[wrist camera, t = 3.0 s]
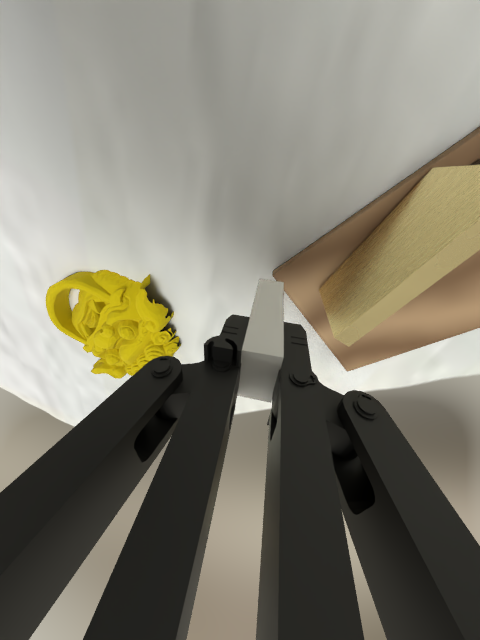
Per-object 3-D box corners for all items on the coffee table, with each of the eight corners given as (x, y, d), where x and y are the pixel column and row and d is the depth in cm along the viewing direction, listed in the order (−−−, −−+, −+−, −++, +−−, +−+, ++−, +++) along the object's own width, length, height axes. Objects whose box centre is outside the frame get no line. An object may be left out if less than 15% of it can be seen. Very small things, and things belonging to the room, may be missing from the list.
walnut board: (272, 271, 19) (272, 275, 19) (584, 53, 10) (610, 42, 9) (345, 365, 25) (347, 371, 24) (593, 278, 15) (611, 284, 15)
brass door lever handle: (474, 123, 11) (659, 72, 6) (522, 169, 12) (729, 163, 6) (318, 289, 18) (334, 338, 13) (354, 312, 19) (383, 367, 13)
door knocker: (44, 266, 25) (5, 281, 21) (165, 272, 22) (143, 289, 19) (101, 361, 34) (81, 381, 31) (190, 372, 32) (179, 396, 28)
